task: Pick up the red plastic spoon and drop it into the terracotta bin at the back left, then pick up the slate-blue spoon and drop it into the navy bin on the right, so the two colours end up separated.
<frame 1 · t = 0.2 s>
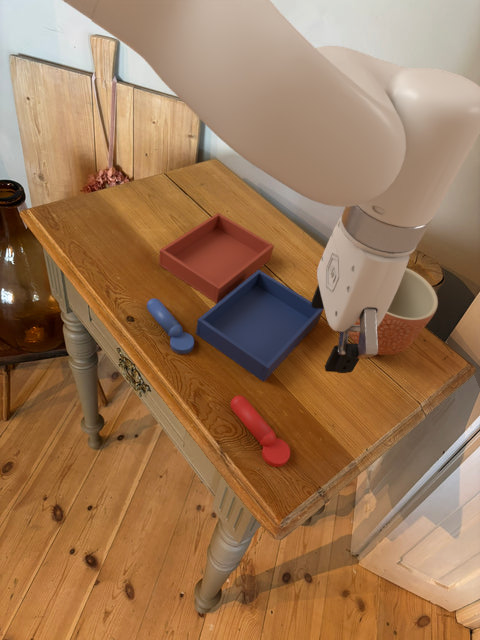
hand: (329, 336, 55), 15 cm above the table, tool pointing down, fingers open, 9 cm apart
red spoon: (259, 434, 62), on the table
blue spoon: (170, 330, 72), on the table
red bin: (216, 262, 84), on the table
planter: (372, 336, 78), on the table
blue bin: (259, 328, 75), on the table
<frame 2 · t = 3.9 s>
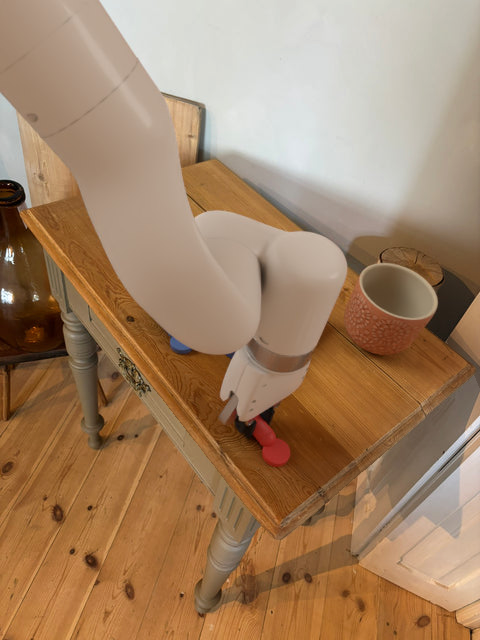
hand: (251, 423, 63), 0 cm above the table, tool pointing down, fingers closed on red spoon, 2 cm apart
red spoon: (259, 434, 62), on the table, touching gripper
everything else where it was.
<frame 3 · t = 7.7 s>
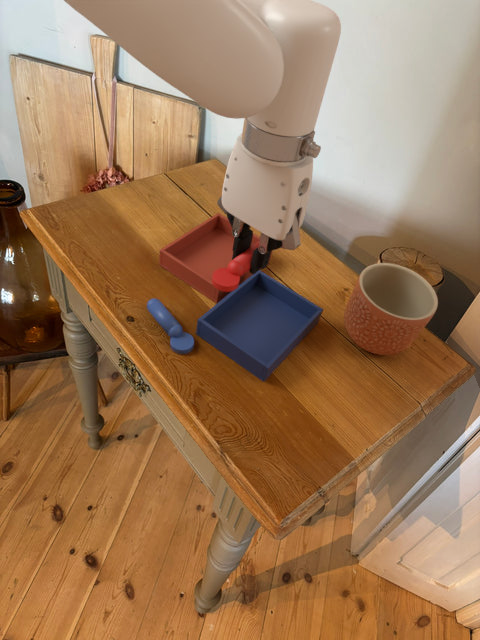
hand: (248, 262, 64), 14 cm above the table, tool pointing down, fingers closed on red spoon
red spoon: (241, 270, 63), point 14 cm above the table, touching gripper
everything else where it was.
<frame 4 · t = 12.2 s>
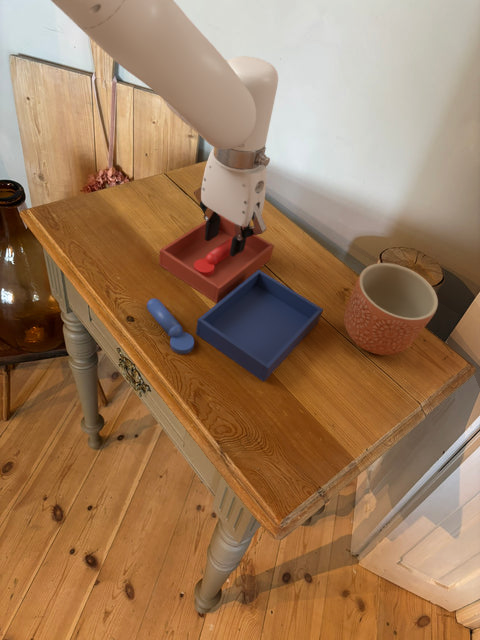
hand: (223, 244, 83), 3 cm above the table, tool pointing down, fingers open, 5 cm apart
red spoon: (215, 260, 84), point 1 cm above the table, touching red bin
everything else where it was.
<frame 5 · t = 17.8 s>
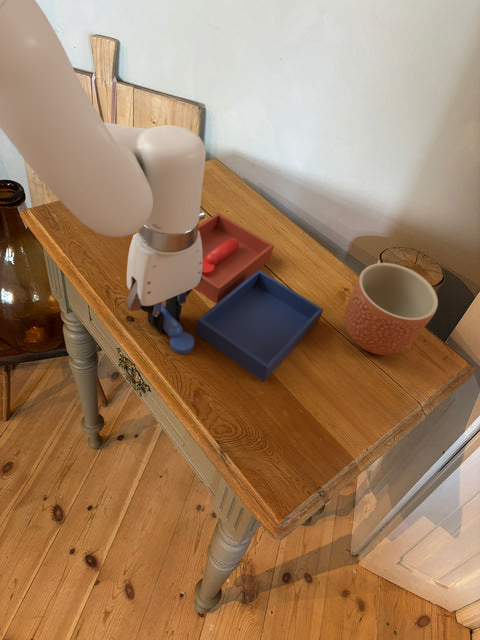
hand: (164, 321, 72), 0 cm above the table, tool pointing down, fingers closed on blue spoon, 2 cm apart
blue spoon: (170, 330, 72), on the table, touching gripper
everything else where it was.
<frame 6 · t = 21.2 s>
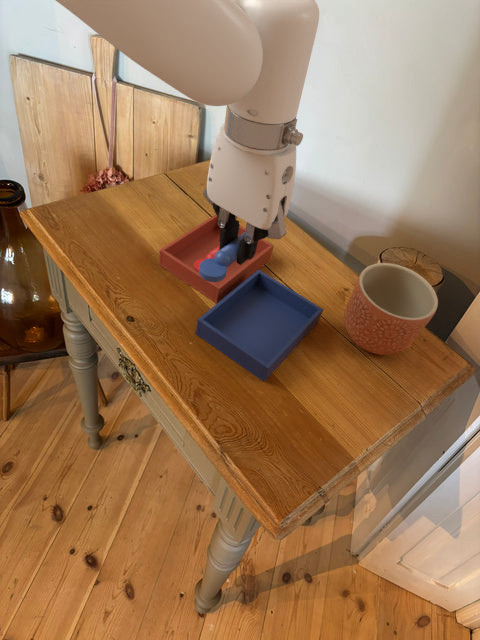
hand: (236, 253, 64), 15 cm above the table, tool pointing down, fingers closed on blue spoon
blue spoon: (228, 261, 63), point 14 cm above the table, touching gripper
everything else where it was.
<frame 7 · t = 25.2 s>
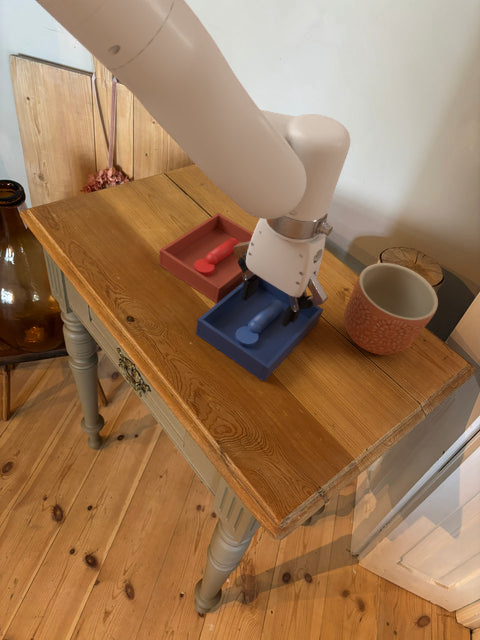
hand: (268, 307, 73), 4 cm above the table, tool pointing down, fingers open, 7 cm apart
blue spoon: (258, 327, 74), point 1 cm above the table, touching blue bin
everything else where it was.
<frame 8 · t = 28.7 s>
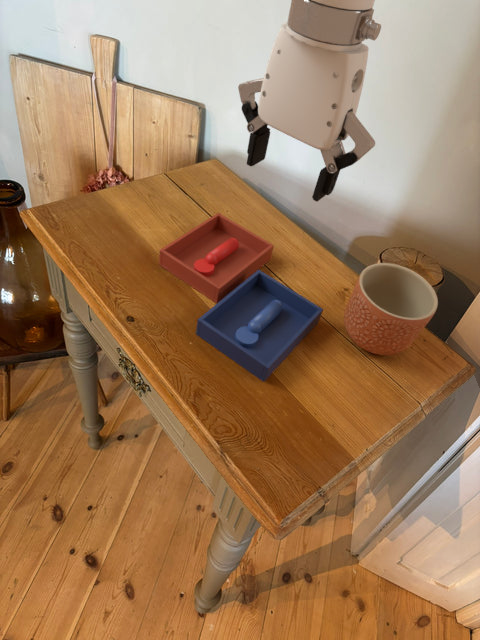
hand: (287, 178, 57), 26 cm above the table, tool pointing down, fingers open, 9 cm apart
nothing on the table moved.
at the end: red spoon inside the target area in the red bin (0.2 cm from its centre), point 0.5 cm above the red bin's base; blue spoon inside the target area in the blue bin (0.2 cm from its centre), point 0.5 cm above the blue bin's base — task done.
